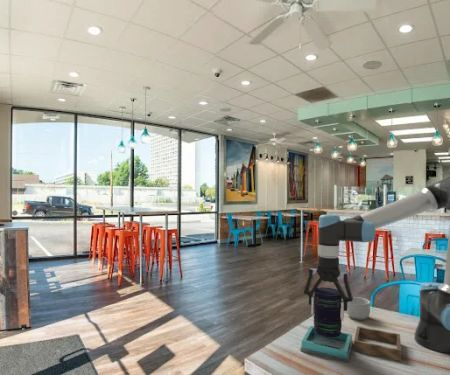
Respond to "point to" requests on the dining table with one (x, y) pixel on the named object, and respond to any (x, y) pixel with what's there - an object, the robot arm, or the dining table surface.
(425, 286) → the robot arm
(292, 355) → the dining table surface
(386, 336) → the walnut holder
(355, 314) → the teacup
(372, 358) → the dining table surface
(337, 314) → the navy oil drum
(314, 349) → the teal square tray
